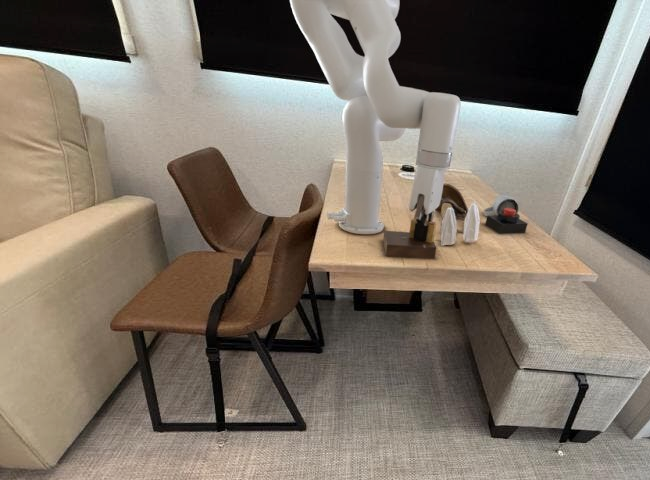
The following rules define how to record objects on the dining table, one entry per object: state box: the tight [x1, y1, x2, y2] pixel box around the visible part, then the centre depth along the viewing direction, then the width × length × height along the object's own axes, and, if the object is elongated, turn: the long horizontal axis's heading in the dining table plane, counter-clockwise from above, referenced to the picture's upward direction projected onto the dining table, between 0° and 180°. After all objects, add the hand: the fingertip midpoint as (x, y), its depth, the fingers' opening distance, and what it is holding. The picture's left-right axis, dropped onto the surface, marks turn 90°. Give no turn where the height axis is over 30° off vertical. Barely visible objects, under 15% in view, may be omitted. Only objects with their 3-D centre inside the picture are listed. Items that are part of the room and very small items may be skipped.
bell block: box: [484, 211, 529, 235], centre depth 105 cm, size 10×8×5 cm
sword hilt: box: [434, 182, 469, 233], centre depth 101 cm, size 10×24×15 cm
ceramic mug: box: [483, 194, 520, 217], centre depth 115 cm, size 11×8×8 cm
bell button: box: [503, 208, 516, 216], centre depth 103 cm, size 4×4×2 cm
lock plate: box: [382, 230, 441, 260], centre depth 82 cm, size 14×10×3 cm
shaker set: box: [440, 202, 481, 247], centre depth 88 cm, size 12×4×11 cm, turn 107°
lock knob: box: [409, 217, 437, 243], centre depth 80 cm, size 6×2×5 cm, turn 67°
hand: (421, 237), depth 81 cm, fingers closed on lock knob, 2 cm apart
